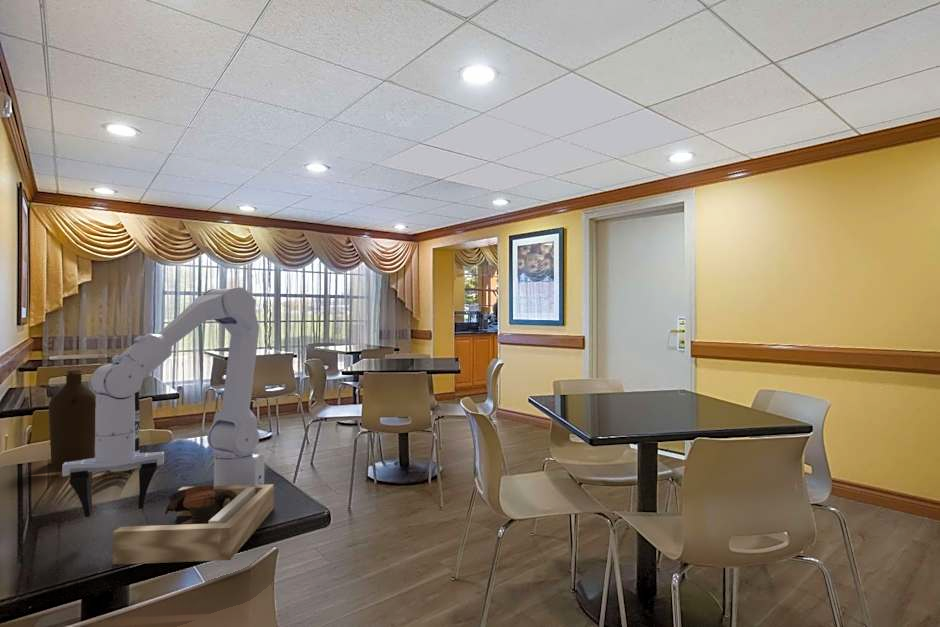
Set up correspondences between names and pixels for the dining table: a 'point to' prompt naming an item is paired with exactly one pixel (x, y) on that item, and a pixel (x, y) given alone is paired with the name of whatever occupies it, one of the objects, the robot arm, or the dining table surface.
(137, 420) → the spray can
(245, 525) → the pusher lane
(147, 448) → the dining table surface
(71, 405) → the olive oil
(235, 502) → the pusher plate
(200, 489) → the pottery mug
